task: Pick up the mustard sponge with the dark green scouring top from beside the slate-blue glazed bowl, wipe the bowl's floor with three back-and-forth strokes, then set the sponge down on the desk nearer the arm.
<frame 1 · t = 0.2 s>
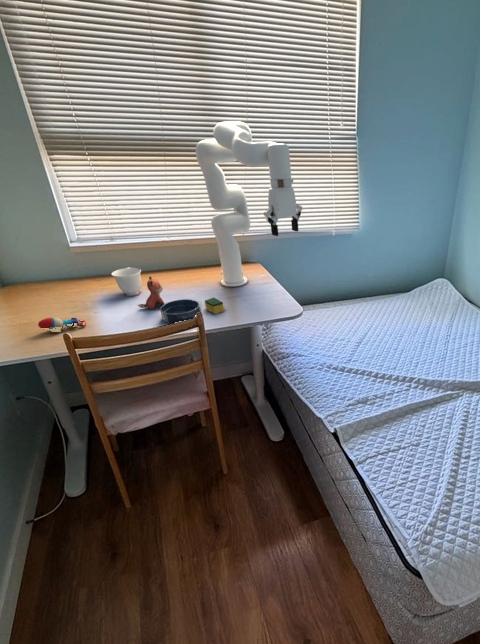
hand: (285, 233, 156), 31 cm above the table, tool pointing down, fingers open, 9 cm apart
bowl: (182, 316, 166), on the table
teacup: (133, 292, 188), on the table
stuffed fox: (153, 307, 175), on the table
sponge: (215, 310, 172), on the table
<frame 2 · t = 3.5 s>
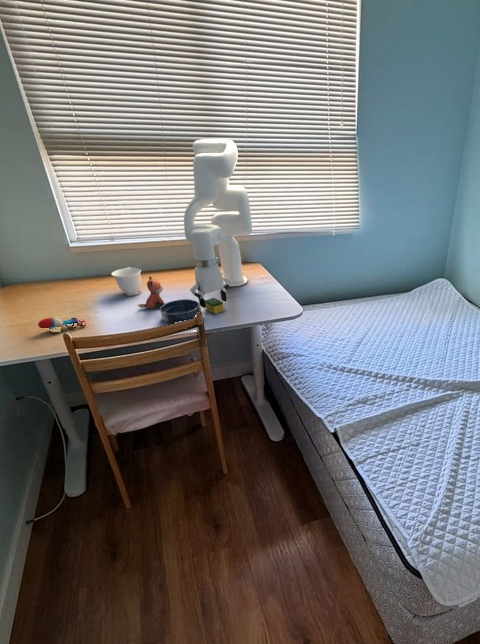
hand: (214, 304, 170), 3 cm above the table, tool pointing down, fingers open, 9 cm apart
nothing on the table moved.
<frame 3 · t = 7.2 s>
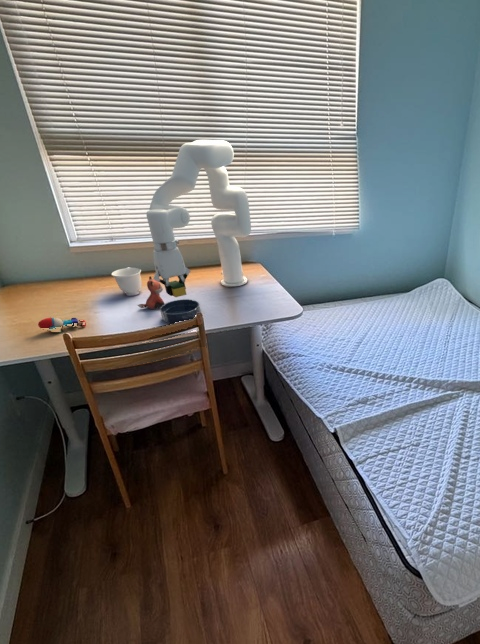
hand: (176, 292, 160), 10 cm above the table, tool pointing down, fingers closed on sponge, 4 cm apart
sponge: (177, 293, 161), point 10 cm above the table, touching gripper
everything else where it was.
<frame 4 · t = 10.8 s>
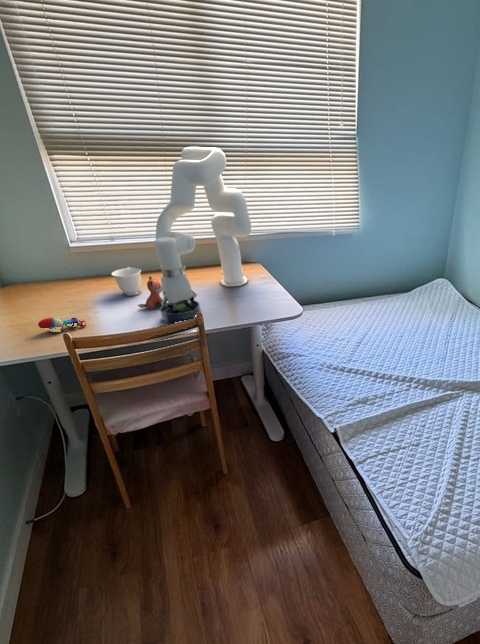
hand: (183, 315, 165), 1 cm above the table, tool pointing down, fingers closed on sponge, 4 cm apart
sponge: (183, 316, 165), point 1 cm above the table, touching gripper
everything else where it was.
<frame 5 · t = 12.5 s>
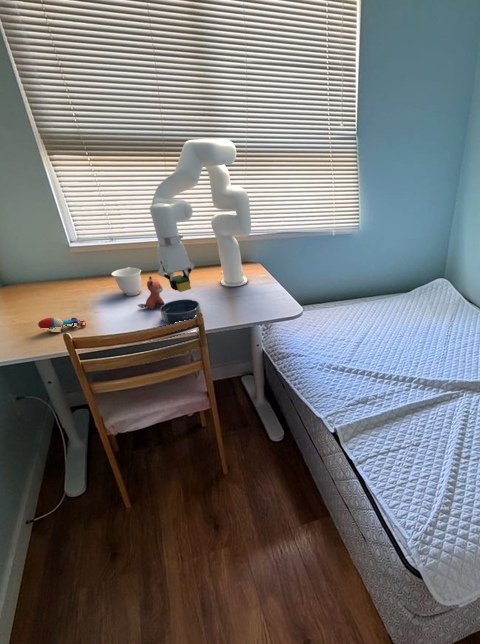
hand: (181, 287, 160), 12 cm above the table, tool pointing down, fingers closed on sponge, 4 cm apart
sponge: (181, 288, 161), point 12 cm above the table, touching gripper
everything else where it was.
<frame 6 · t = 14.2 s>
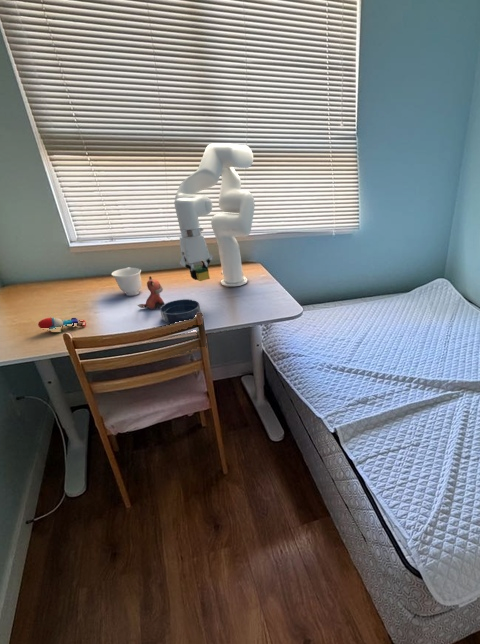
hand: (200, 277, 171), 12 cm above the table, tool pointing down, fingers closed on sponge, 4 cm apart
sponge: (200, 277, 172), point 11 cm above the table, touching gripper
everything else where it was.
when the fingers open (0 cm above the table, at t = 17.2 s): sponge stays where it is, on the table.
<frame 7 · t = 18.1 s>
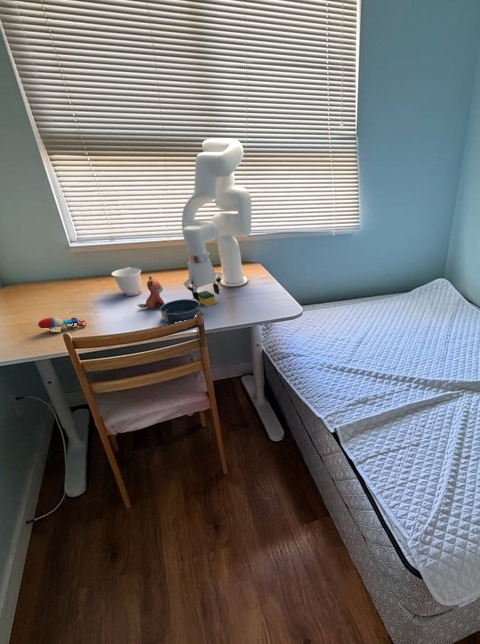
hand: (207, 296, 178), 2 cm above the table, tool pointing down, fingers open, 9 cm apart
sponge: (207, 302, 179), on the table
everything else where it was.
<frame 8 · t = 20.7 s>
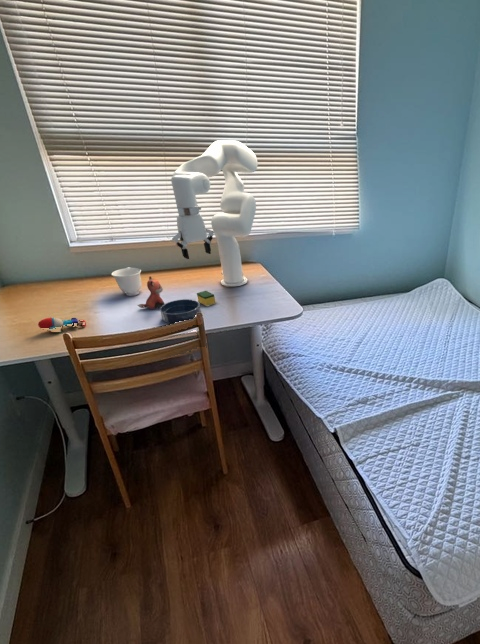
hand: (197, 255, 167), 20 cm above the table, tool pointing down, fingers open, 9 cm apart
nothing on the table moved.
at the end: sponge 0.4 cm from the target spot, on the table; the gripper is holding nothing; sponge tilted 0° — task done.
